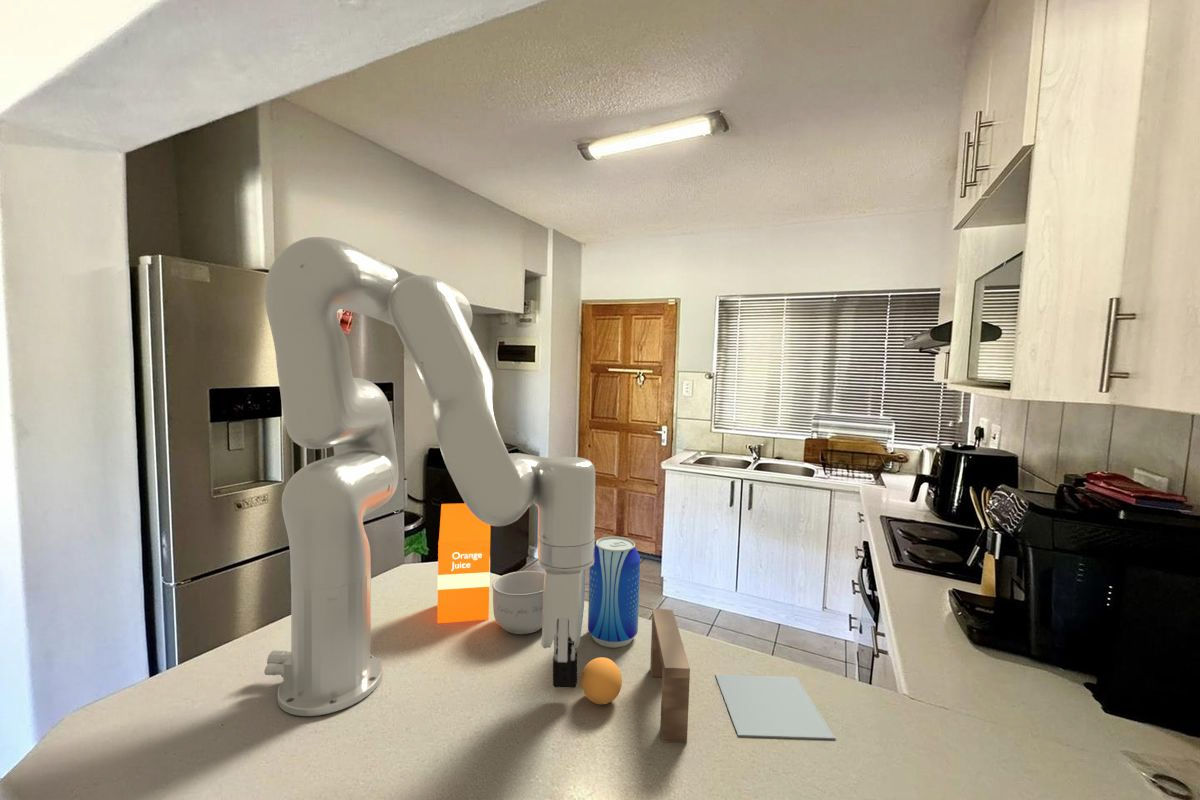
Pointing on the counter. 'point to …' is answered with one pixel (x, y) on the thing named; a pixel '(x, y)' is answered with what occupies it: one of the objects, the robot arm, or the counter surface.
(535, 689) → the counter surface
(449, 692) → the counter surface
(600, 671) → the ball
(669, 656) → the bridge
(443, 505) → the orange juice
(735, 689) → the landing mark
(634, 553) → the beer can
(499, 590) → the teacup
